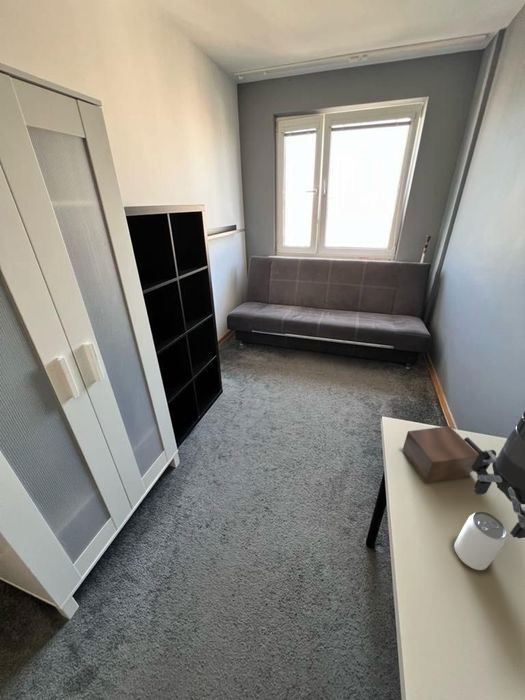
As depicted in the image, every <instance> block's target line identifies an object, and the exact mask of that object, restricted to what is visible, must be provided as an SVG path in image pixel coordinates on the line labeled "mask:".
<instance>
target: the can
mask: <svg viewBox="0 0 525 700" xmlns="http://www.w3.org/2000/svg"><path fill="white" fill-rule="evenodd" d="M506 540H507V529H506V527H505V526H504V523H502V521H500V519H499V518H497V517H496V516H495V515H493V514H491V513H489V512H486V511H481V510H478V511H475V512H474V513H472V514H470V515H469V517H468V518H467V519H466V521H465V523H464V525H463V527H462V528H461V531H460V532H459V535H458V536H457V538H456V539H455V541H454V551H455V553H456V555H457V556H458V558H459V559H460V561H461V562H463V563H464V564H465V565H466V566H468V567H469V568H471V569H473V570H477V571H484V570H486V569H487V568H488V567H489V566H490V564H491V563H492V562H493V560H494V559H495V557H496V556H497V555H498V553H499V552H500V550H501V549H502V547H503V546H504V545H505V543H506Z"/></svg>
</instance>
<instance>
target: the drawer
mask: <svg viewBox="0 0 525 700" xmlns="http://www.w3.org/2000/svg"><path fill="white" fill-rule="evenodd" d="M451 429H452V430H453V431H454V432H455V433H456V434H457V435H458V436H459V437H460V438H461V439H462V440H463V441H464V442H465V443H466V444H467V445H468V446H469V447H470V448H471V449H472V450H473V451H474V452H475V453H476V454H477V455H479V453H480V452H481V451H483V450H482V449H481V448H480V447H479V446H478V445H477V444H476V443H475V442H474V441H473V440H472V439H470V437H468V436H467V437H465V438H463V437H462V436H461V435H460V434H459V433H458V432H457V431H456V430H454V428H451ZM473 472H474V471H473V470H472V471H471V473H473Z"/></svg>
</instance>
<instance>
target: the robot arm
mask: <svg viewBox="0 0 525 700" xmlns="http://www.w3.org/2000/svg"><path fill="white" fill-rule="evenodd" d="M491 464H492V471H493V472H491V473H489V472H488V471H487V470H488V469H489V467H490V465H491ZM471 468H472V470H473V471H472V472H475V473H476V478H477V480H476V481H475V483H474V486H473V488H474V490H473V492H474V493H475V495H477V496H480V495H485V494H486V493H487V492H488V490H489V488H490V487H491V485H492V483H495V484H496V488H497V489H498V490H499V491H501V493H503V494H504V495H505V497H506V499H508V500H509V502H510V503H511V504H512V509H513V512H514V513H515V514H516V516H517V519H518V522H516V524H515V525H514V527H513V528H512V529H511V531H510V532H509V534H510V535H511V536H512V538H517V539H524V538H525V506H522V505H525V411H524V412H523V413H522V415H521V417H520V419H519V421H518V423H517V424H516V426H515V428H514V429H512V431H511V432H510V434H509V435H508V437H507V438H506V440H505V442H504V444H503V445H502V448H501V449H500V452H499V453H498V455H497V452H496V450H494V449H488V450H482V451H481V452H480V453H479V455H478V457H477V458H476V460H475V462H474V463H473V465H472V467H471Z"/></svg>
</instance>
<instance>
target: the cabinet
mask: <svg viewBox="0 0 525 700" xmlns="http://www.w3.org/2000/svg"><path fill="white" fill-rule="evenodd" d="M452 429H453V428H452V427H451V426H449V425H446V426H438V427H430V428H422V429H414V430H408V431H407V433H406V437H405V440H404V443H403V447H402V450H401V451H402V452H403V454H404V455H405V457H406V458H407V459H408V461H409V462H410V464H411V465H412V466H413V468H414V469H415V471H416V472H417V474H418V475H419V477H420V478H421V479H422V481H423V482H424V483H431V482H432V483H433V482H439V481H440V482H441V481H447V480H453V479H461V478H467V477H470V475H471V473H472V472H473V471H472V468H471V467H472V465H473V463H474V462H475V460H476V458H477V457H478V455H477V454H476V453H475V452H476V451H475V450H474V449H473V448H472V447H471V446H470V445H469V444H468V443H467V442H466V443H467V444H468V445H469V446H470V447H471V448H472V449H473V450H474V451H475V452H474V451H473V450H472V449H471V448H470V447H469V446H468V445H467V444H466V443H465V442H464V441H463V440H462V439H461V438H460V437H459V436H458V435H457V434H456V433H455V432H454V431H453V430H452ZM471 471H472V472H471Z"/></svg>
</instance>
